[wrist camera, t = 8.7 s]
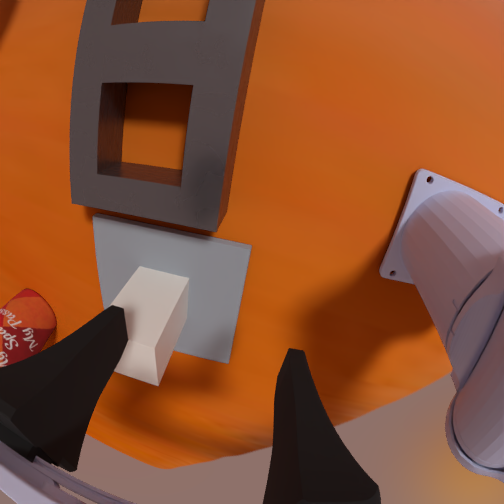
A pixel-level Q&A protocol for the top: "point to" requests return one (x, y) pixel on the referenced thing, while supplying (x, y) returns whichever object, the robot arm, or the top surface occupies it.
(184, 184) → the metal frame
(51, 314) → the coffee cup
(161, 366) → the ivory plug
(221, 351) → the rubber pad
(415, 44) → the top surface
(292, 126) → the top surface
